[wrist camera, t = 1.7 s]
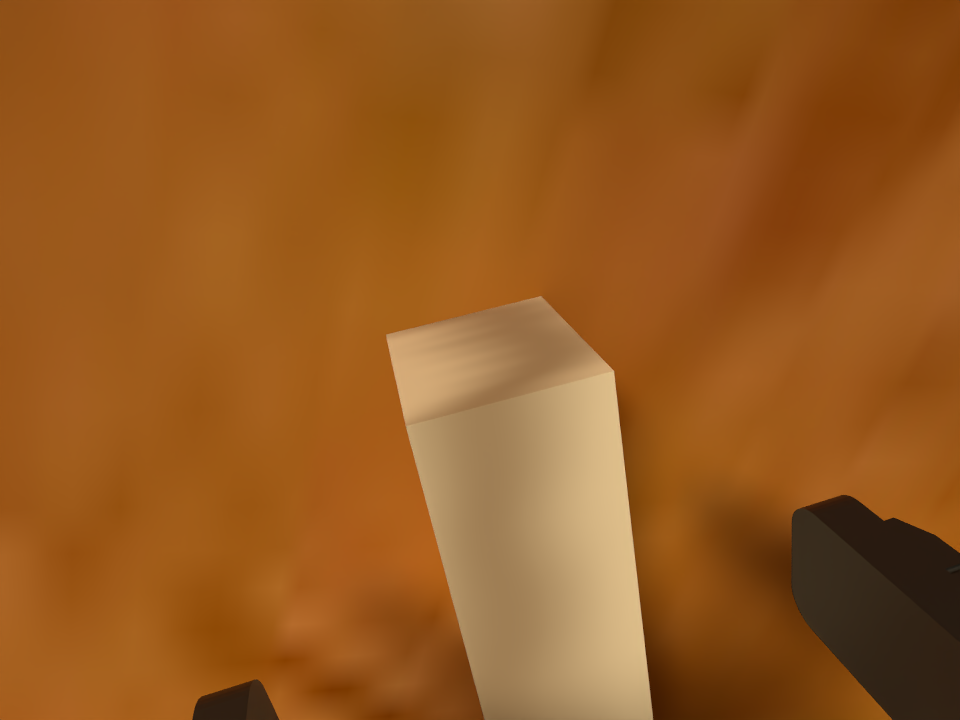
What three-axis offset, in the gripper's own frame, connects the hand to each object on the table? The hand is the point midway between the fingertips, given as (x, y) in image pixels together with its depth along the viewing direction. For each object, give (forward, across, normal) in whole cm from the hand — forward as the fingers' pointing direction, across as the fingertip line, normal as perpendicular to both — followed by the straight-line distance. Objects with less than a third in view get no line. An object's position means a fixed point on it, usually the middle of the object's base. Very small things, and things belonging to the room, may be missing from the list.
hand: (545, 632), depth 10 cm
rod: (+7, -1, +10) cm, 12 cm away
